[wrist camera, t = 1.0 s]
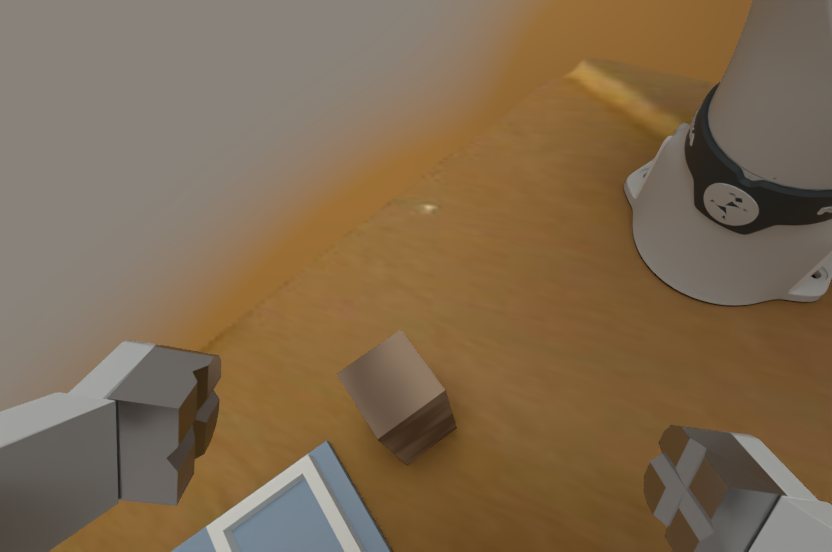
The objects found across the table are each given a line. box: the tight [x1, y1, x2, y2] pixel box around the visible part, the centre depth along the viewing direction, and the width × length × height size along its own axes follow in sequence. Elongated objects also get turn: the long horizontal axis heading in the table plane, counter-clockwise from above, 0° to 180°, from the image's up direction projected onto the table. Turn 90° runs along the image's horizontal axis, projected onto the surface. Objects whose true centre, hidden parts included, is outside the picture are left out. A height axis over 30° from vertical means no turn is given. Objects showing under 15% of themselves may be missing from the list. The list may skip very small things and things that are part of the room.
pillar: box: [337, 330, 456, 465], centre depth 37 cm, size 5×5×12 cm
